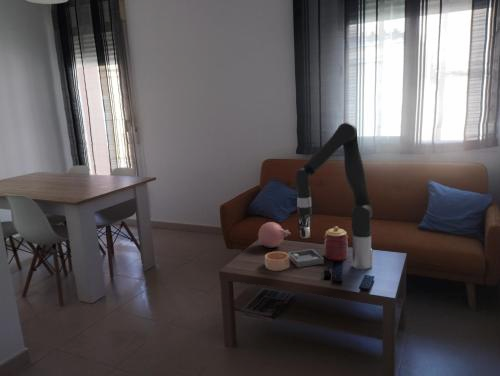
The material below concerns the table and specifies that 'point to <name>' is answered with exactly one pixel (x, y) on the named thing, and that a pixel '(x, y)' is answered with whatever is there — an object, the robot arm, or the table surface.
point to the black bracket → (326, 274)
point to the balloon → (272, 234)
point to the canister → (336, 244)
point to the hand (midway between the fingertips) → (305, 235)
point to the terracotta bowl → (277, 261)
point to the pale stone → (307, 232)
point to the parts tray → (306, 258)
